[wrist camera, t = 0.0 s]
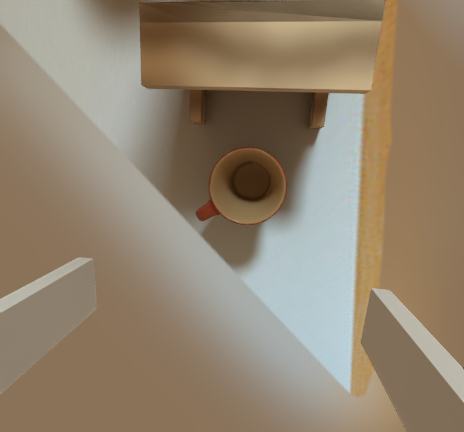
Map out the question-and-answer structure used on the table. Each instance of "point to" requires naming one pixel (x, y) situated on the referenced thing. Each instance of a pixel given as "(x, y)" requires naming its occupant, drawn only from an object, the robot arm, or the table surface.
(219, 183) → the mug
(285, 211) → the table surface
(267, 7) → the wooden standing sign
